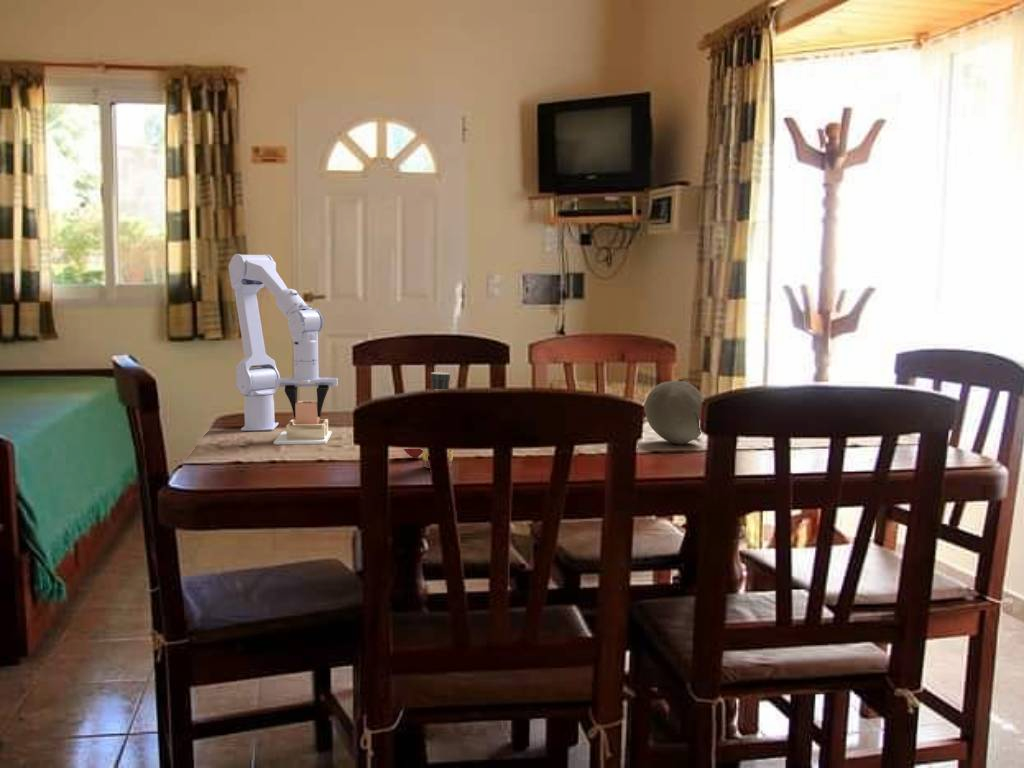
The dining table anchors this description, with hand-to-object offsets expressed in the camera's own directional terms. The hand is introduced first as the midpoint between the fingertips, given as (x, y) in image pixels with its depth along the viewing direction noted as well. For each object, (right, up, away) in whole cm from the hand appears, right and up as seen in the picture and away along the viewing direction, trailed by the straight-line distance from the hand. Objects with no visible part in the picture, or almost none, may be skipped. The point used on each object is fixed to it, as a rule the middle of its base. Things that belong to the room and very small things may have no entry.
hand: (307, 416), depth 230 cm
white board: (-1, -5, +1) cm, 5 cm away
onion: (+28, -9, -22) cm, 37 cm away
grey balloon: (+88, -7, -4) cm, 88 cm away
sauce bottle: (+34, -10, -31) cm, 47 cm away
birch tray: (0, -5, +1) cm, 5 cm away
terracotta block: (0, -2, 0) cm, 2 cm away
